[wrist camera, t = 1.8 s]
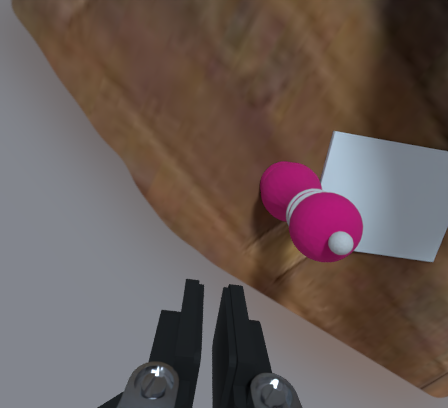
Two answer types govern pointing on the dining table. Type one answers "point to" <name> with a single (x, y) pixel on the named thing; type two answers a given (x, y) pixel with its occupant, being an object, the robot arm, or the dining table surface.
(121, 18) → the dining table surface
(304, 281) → the dining table surface
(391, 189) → the mat
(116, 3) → the dining table surface
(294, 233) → the pepper mill
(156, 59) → the dining table surface
